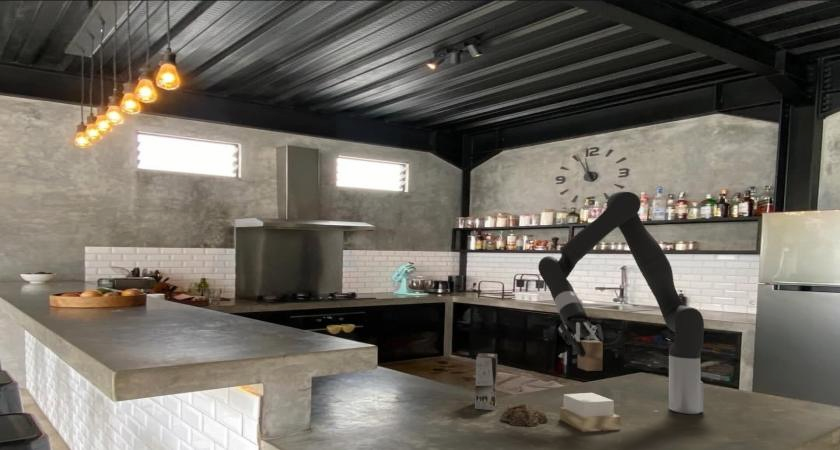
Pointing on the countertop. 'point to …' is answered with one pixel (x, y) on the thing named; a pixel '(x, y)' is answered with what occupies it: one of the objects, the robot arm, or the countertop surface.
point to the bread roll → (523, 415)
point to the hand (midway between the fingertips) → (591, 354)
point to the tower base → (590, 421)
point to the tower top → (588, 404)
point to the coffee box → (486, 381)
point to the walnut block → (591, 356)
